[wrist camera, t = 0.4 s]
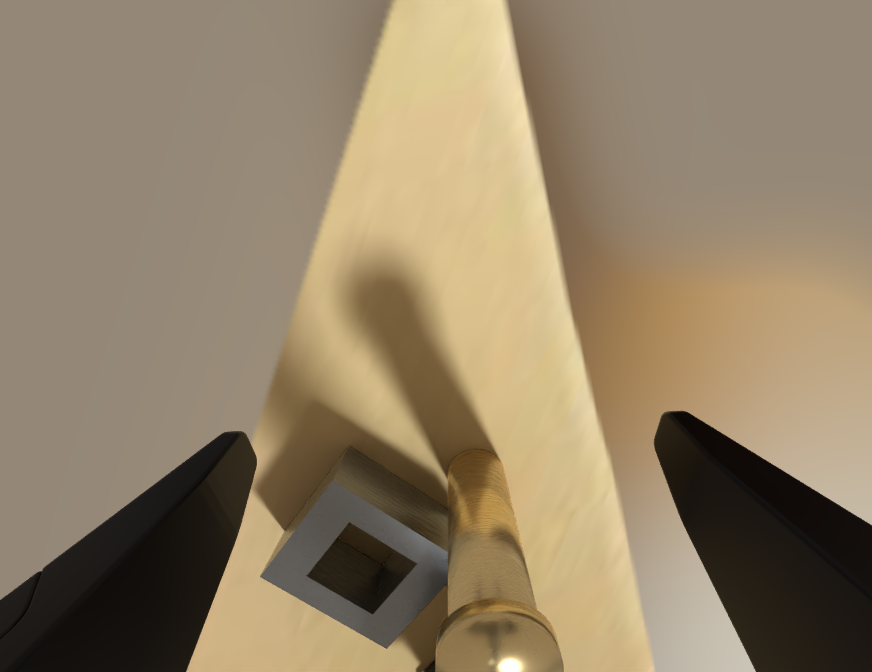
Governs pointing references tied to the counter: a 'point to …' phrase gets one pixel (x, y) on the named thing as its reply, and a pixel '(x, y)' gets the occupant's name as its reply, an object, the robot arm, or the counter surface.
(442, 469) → the counter surface
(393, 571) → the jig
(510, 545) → the flanged metal cylinder
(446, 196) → the counter surface
